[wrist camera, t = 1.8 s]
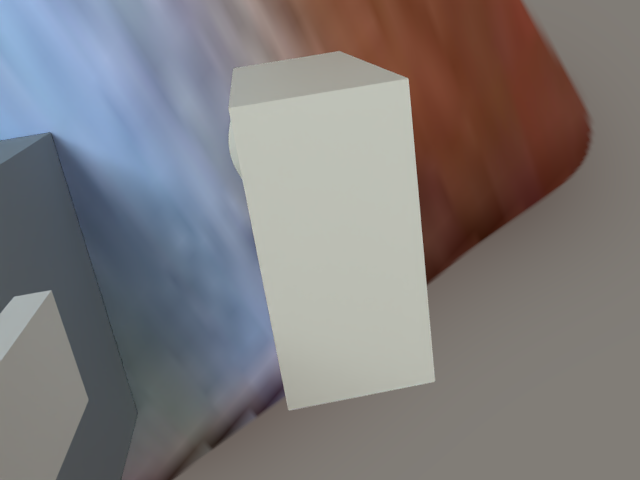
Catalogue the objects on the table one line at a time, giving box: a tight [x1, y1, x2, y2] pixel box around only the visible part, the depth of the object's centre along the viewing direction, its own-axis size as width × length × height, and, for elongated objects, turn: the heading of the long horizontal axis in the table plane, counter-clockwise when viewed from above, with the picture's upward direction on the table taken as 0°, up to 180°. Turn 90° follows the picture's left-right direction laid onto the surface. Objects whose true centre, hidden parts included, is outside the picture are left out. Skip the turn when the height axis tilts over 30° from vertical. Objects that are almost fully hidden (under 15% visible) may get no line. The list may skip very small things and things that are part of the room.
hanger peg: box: [228, 51, 435, 411], centre depth 22 cm, size 6×8×16 cm
